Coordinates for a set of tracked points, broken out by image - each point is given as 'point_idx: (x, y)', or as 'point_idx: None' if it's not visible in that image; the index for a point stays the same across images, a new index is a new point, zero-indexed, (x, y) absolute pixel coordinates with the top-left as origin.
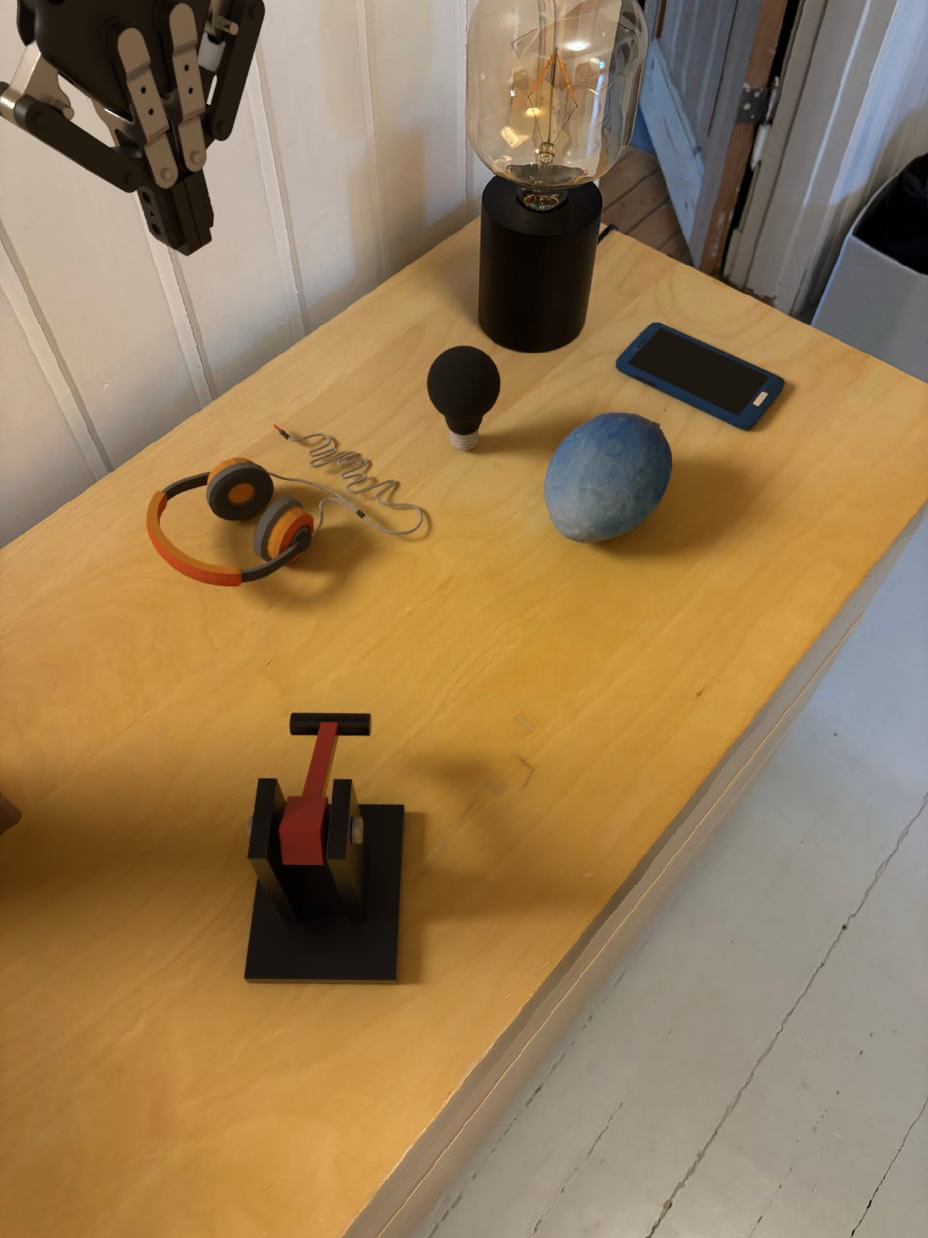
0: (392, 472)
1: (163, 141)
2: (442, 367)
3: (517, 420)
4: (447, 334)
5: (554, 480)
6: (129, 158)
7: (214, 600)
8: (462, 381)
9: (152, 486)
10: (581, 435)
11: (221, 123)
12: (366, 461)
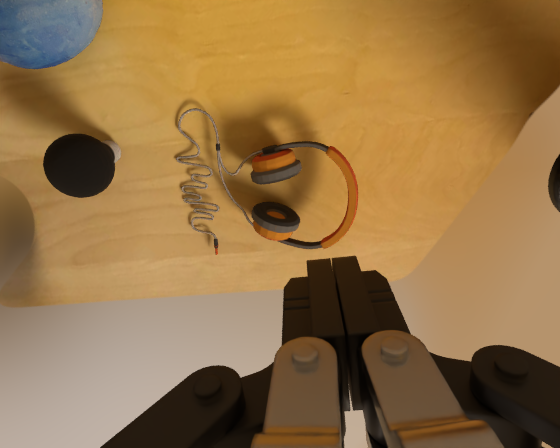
0: (173, 167)
1: (396, 412)
2: (87, 179)
3: None
4: (59, 243)
5: (75, 29)
6: (488, 415)
7: None
8: (81, 156)
9: None
10: (22, 38)
11: (211, 395)
12: (182, 187)
